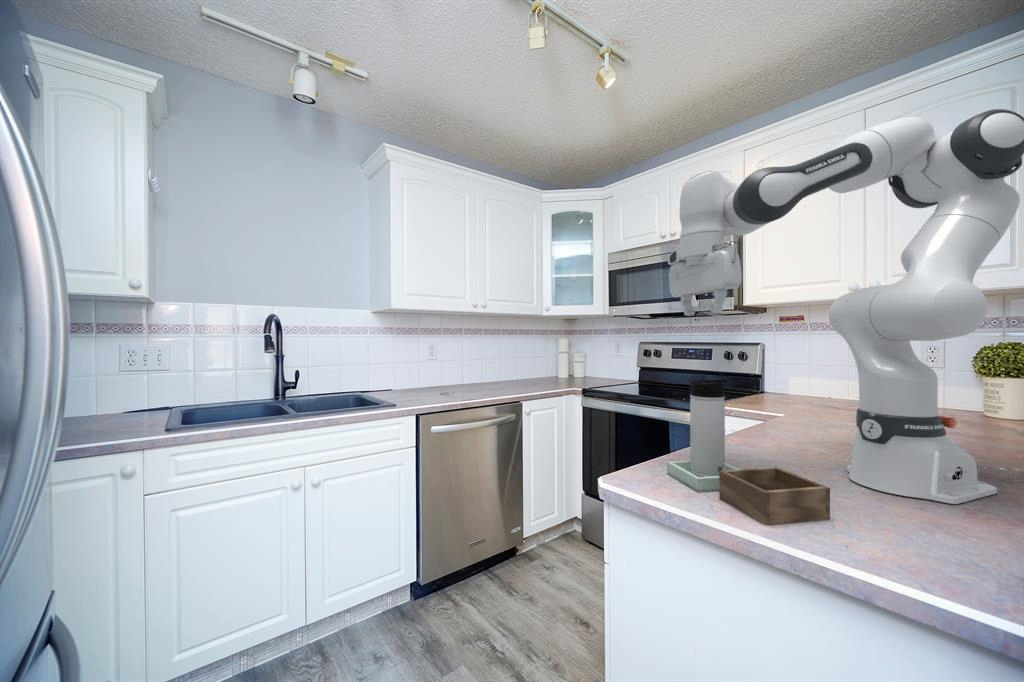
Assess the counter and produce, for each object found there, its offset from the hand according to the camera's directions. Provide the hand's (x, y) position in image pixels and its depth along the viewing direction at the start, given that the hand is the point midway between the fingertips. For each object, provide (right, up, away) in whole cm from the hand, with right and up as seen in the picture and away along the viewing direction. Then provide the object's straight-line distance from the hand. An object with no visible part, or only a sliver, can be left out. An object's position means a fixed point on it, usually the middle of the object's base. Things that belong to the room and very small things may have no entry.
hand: (702, 314), depth 89 cm
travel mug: (-2, -34, -6) cm, 34 cm away
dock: (-2, -34, -6) cm, 34 cm away
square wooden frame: (+2, -34, -20) cm, 39 cm away
